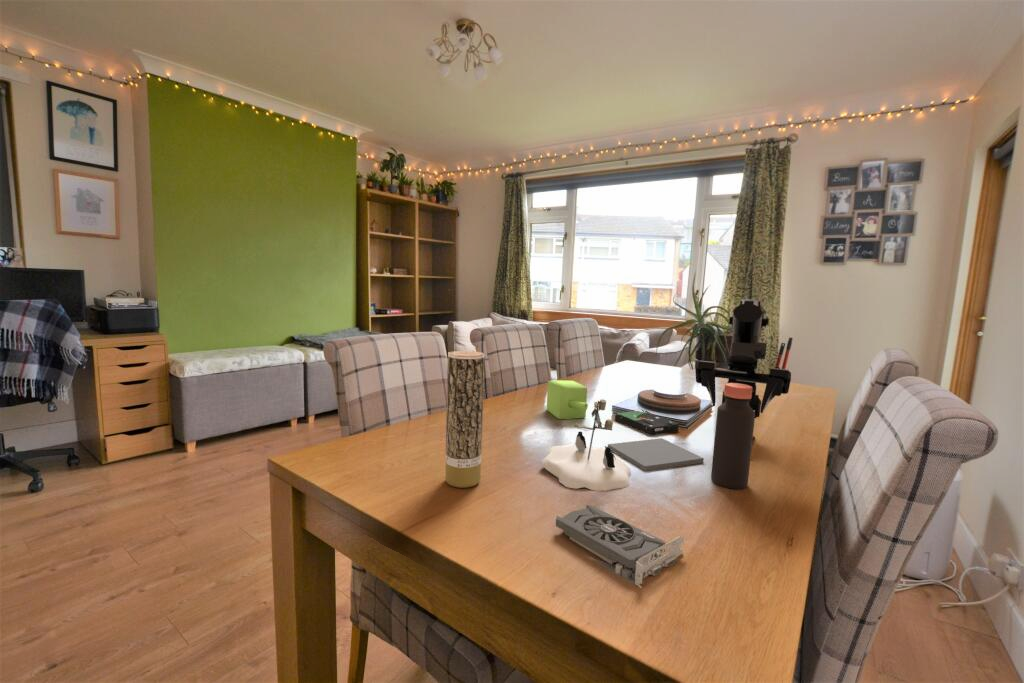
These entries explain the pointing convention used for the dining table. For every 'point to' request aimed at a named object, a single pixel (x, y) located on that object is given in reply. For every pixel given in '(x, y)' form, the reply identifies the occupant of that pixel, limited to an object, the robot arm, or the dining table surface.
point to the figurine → (588, 461)
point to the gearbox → (566, 399)
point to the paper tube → (464, 418)
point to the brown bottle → (733, 437)
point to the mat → (654, 454)
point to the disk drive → (647, 422)
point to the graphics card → (619, 544)
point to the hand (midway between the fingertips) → (737, 408)
